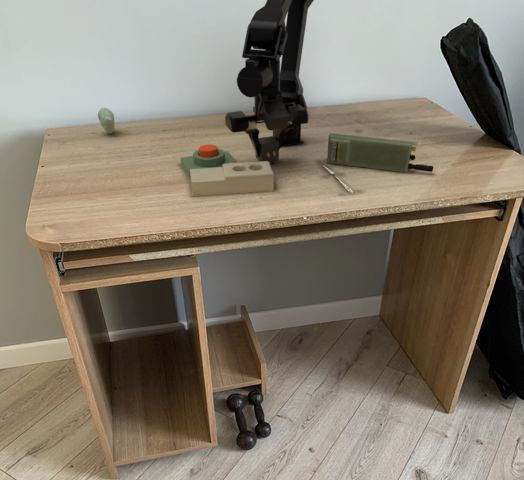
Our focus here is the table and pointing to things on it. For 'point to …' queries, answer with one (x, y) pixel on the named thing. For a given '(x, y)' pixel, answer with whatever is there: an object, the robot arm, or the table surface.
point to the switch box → (206, 161)
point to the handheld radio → (372, 153)
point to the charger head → (268, 149)
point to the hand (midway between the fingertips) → (267, 155)
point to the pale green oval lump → (106, 119)
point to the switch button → (208, 151)
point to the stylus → (340, 181)
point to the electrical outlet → (232, 178)
